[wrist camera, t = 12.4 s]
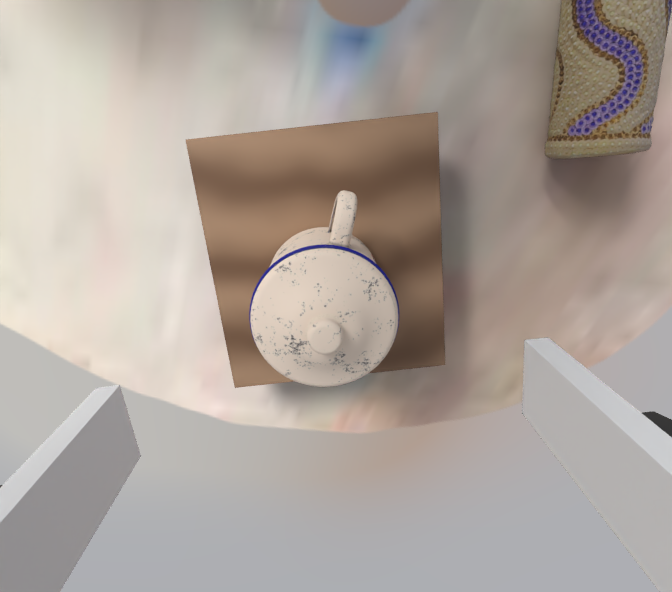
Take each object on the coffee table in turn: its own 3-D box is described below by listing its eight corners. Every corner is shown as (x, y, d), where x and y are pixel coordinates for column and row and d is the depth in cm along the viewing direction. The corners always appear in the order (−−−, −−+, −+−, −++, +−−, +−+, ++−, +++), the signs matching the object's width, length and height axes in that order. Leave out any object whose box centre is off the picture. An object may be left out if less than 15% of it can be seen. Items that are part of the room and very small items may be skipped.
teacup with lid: (366, 342, 36) (386, 425, 25) (257, 322, 35) (228, 398, 24) (403, 198, 33) (445, 221, 22) (283, 172, 32) (263, 181, 21)
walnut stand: (206, 142, 37) (185, 139, 31) (419, 118, 37) (437, 112, 31) (246, 356, 43) (234, 387, 37) (428, 336, 43) (445, 364, 37)
